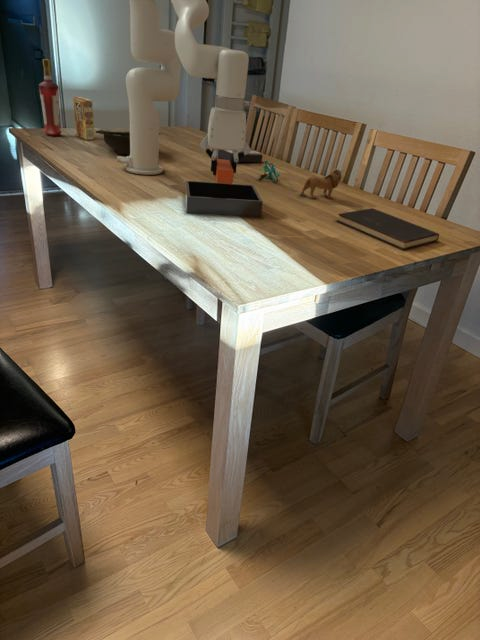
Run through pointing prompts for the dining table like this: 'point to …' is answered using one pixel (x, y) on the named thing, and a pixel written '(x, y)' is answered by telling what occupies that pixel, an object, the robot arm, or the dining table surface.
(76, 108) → the candy box
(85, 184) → the dining table surface
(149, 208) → the dining table surface
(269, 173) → the stick construction toy
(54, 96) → the liquor
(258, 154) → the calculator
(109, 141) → the stone bowl
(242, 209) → the tray
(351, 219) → the hardcover book
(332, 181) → the lion figurine
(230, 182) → the orange rectangular block
